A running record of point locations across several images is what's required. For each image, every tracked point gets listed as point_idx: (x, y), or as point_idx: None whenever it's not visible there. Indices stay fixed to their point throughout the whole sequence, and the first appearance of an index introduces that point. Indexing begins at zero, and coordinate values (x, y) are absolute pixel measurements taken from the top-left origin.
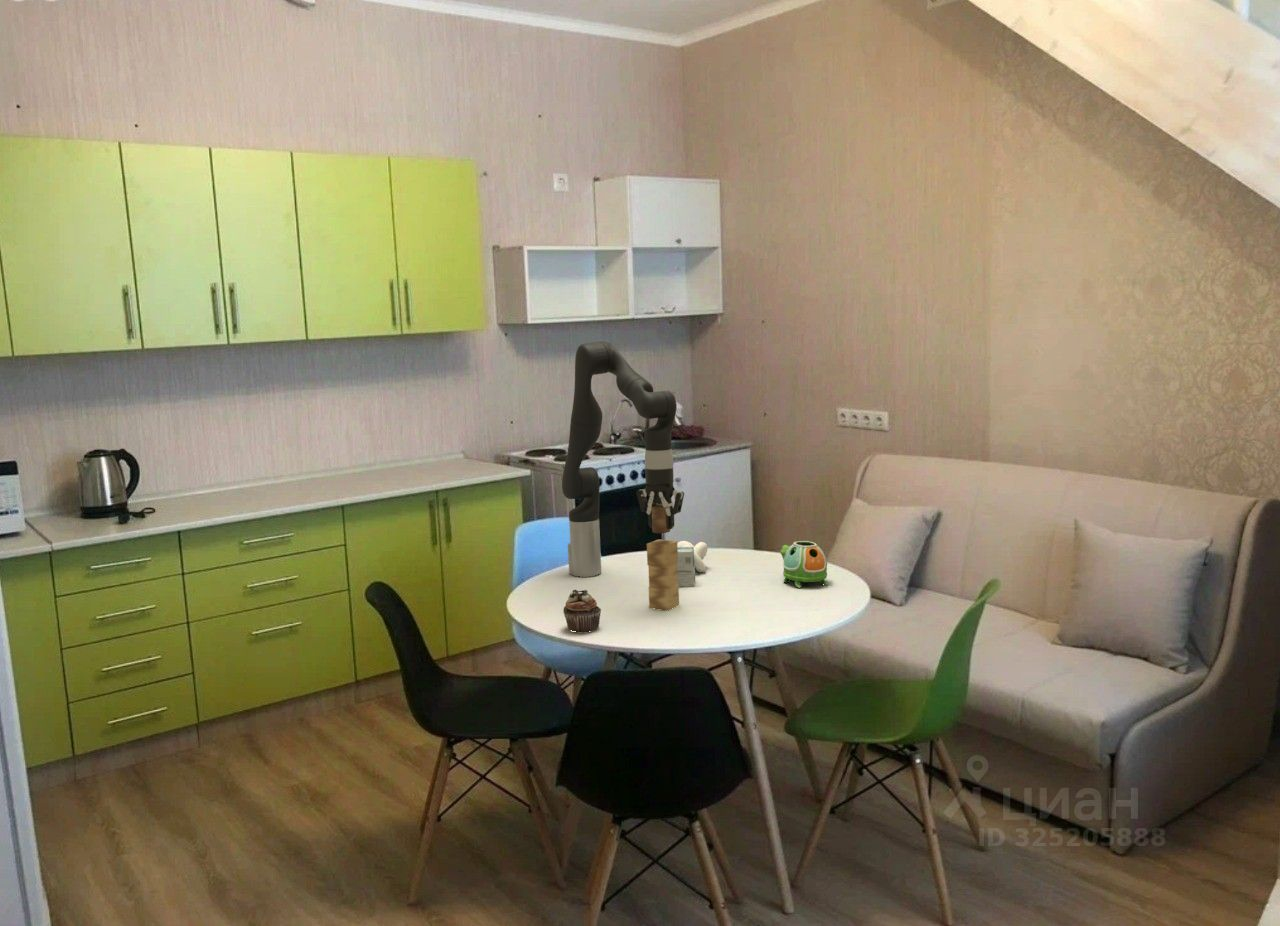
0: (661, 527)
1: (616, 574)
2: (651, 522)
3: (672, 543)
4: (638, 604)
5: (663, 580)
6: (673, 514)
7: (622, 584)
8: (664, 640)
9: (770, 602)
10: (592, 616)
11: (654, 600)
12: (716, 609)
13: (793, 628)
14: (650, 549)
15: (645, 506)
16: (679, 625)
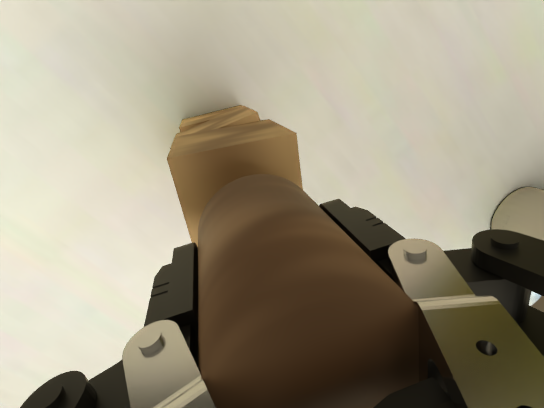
0: (215, 211)
1: (462, 248)
2: (336, 217)
3: (187, 227)
4: (288, 115)
5: (196, 129)
6: (110, 368)
7: (416, 209)
8: None
9: (46, 323)
10: None
11: (226, 111)
12: (94, 207)
13: None
14: (266, 133)
15: (517, 306)
16: (33, 20)
